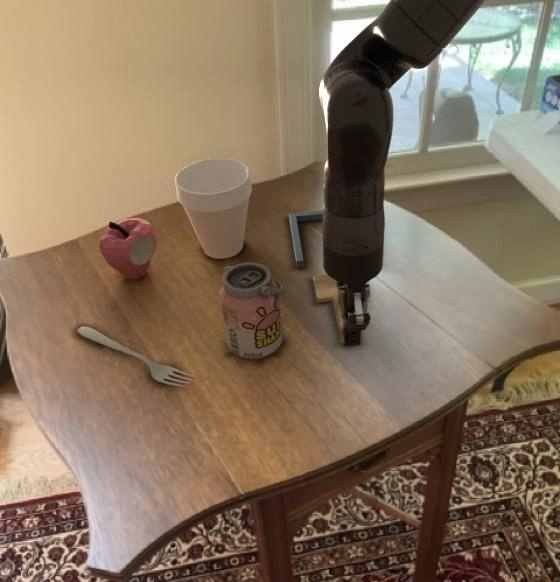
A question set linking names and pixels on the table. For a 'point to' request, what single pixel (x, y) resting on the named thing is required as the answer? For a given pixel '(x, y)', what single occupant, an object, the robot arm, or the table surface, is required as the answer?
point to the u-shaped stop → (295, 232)
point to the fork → (156, 370)
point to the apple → (129, 246)
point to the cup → (216, 203)
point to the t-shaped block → (329, 297)
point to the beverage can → (251, 310)
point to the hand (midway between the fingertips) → (351, 342)
